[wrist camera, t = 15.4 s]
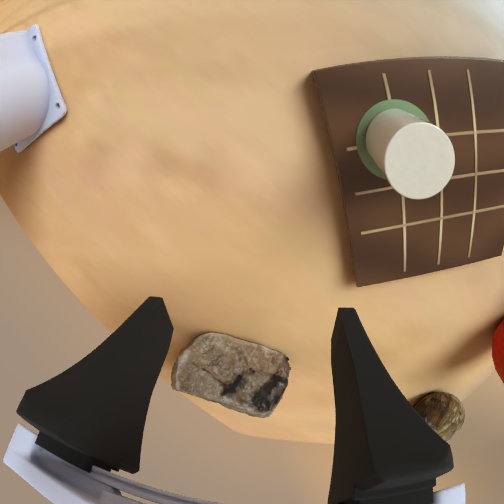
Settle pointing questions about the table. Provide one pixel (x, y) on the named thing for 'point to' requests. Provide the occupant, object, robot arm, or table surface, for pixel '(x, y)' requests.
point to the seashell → (442, 413)
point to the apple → (498, 350)
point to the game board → (457, 189)
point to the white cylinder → (410, 153)
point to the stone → (232, 373)
